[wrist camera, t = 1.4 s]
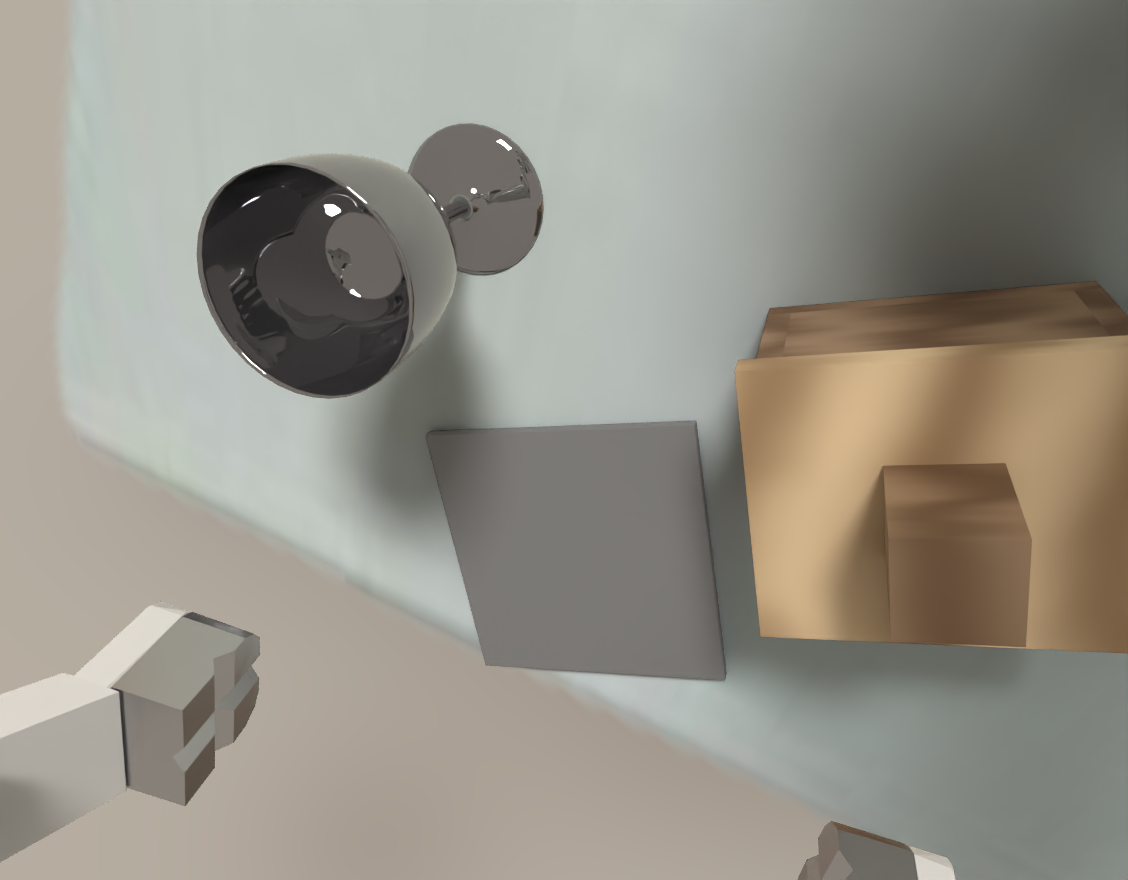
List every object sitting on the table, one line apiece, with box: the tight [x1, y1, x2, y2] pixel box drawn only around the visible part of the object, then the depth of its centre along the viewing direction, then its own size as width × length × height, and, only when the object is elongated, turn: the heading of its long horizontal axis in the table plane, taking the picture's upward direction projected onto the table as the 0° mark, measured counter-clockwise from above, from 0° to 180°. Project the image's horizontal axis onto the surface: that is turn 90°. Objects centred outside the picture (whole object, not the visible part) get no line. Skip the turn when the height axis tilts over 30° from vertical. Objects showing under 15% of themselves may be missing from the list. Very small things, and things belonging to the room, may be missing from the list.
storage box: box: [756, 281, 1128, 359], centre depth 35 cm, size 13×11×8 cm
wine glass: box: [197, 124, 543, 399], centre depth 34 cm, size 8×8×15 cm
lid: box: [735, 335, 1128, 653], centre depth 30 cm, size 14×12×7 cm
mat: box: [426, 421, 727, 680], centre depth 48 cm, size 15×16×1 cm
